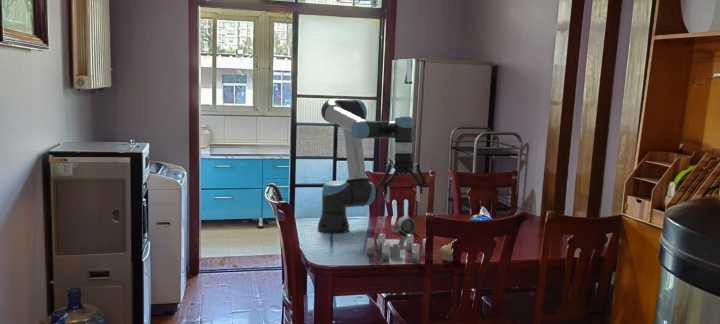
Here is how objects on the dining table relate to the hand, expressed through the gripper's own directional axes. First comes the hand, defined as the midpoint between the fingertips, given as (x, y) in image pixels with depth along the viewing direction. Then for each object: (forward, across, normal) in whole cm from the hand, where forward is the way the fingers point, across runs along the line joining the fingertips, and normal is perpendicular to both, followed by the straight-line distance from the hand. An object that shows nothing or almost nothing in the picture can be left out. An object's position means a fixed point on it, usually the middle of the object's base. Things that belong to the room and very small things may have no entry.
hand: (403, 201), depth 232 cm
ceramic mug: (+19, +7, +26) cm, 33 cm away
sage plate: (+20, -3, +4) cm, 20 cm away
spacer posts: (+21, -5, -12) cm, 24 cm away
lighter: (+21, -5, -12) cm, 25 cm away
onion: (+22, +14, -19) cm, 32 cm away
